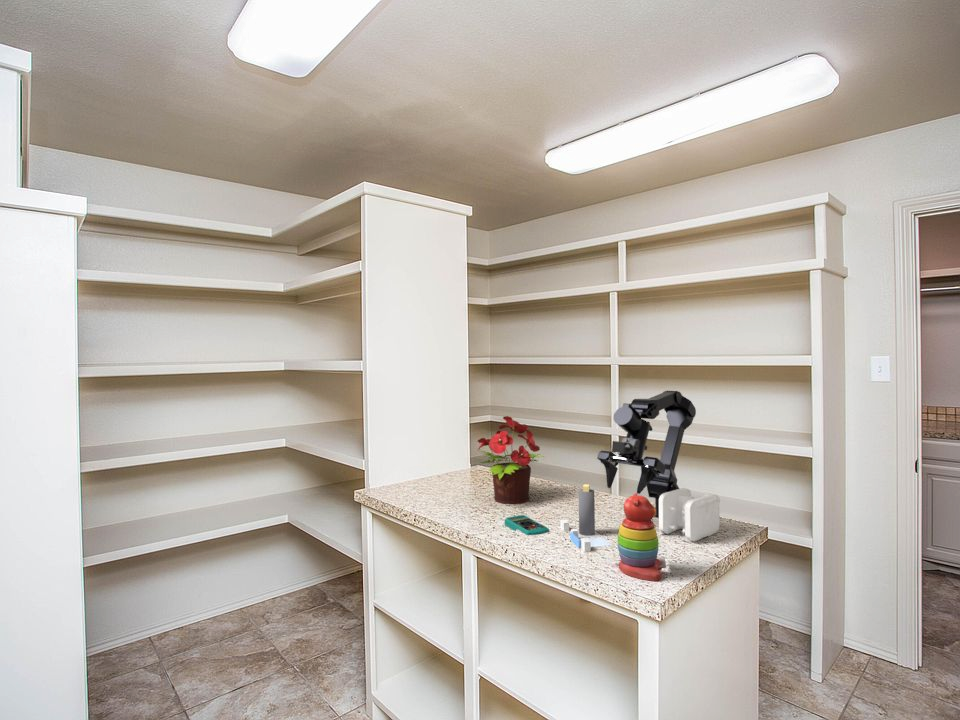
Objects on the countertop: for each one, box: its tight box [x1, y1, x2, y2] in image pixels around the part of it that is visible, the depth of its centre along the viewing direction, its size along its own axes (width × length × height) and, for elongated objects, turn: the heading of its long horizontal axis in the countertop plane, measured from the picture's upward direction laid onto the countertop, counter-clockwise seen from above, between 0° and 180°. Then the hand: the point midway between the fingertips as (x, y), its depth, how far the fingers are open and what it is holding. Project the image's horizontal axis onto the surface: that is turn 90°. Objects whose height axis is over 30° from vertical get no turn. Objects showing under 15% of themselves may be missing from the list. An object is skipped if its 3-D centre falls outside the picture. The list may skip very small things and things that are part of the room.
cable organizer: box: [658, 487, 721, 543], centre depth 149 cm, size 15×11×12 cm
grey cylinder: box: [578, 483, 596, 536], centre depth 147 cm, size 4×4×14 cm
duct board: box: [560, 519, 613, 553], centre depth 144 cm, size 20×13×4 cm, turn 10°
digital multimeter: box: [504, 514, 550, 536], centre depth 154 cm, size 7×15×3 cm, turn 25°
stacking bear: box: [617, 492, 663, 582], centre depth 124 cm, size 11×10×18 cm
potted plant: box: [474, 415, 547, 505], centre depth 190 cm, size 30×27×30 cm
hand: (623, 490), depth 146 cm, fingers open, 9 cm apart
